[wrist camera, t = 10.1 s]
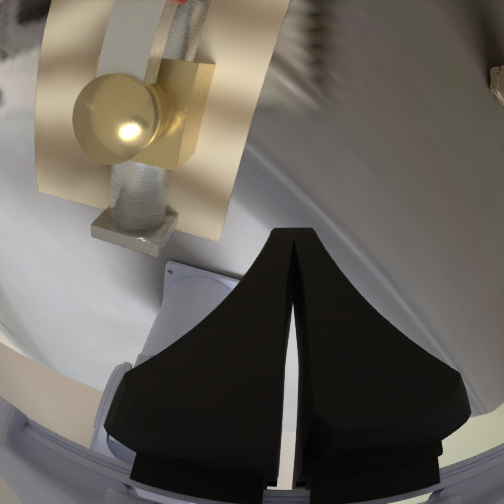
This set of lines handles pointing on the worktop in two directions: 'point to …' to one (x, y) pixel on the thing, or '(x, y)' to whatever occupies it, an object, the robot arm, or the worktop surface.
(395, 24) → the worktop surface
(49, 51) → the board
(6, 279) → the worktop surface
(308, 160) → the worktop surface
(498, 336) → the worktop surface
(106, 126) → the lever
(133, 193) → the valve
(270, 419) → the robot arm
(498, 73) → the handle
